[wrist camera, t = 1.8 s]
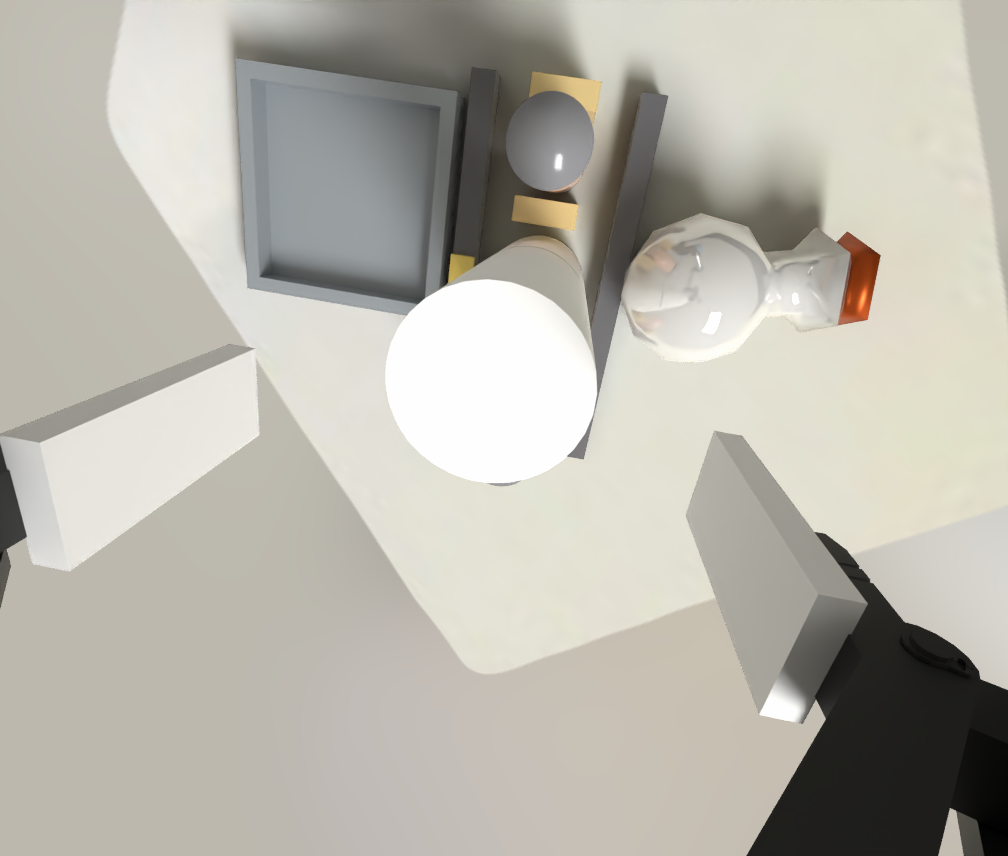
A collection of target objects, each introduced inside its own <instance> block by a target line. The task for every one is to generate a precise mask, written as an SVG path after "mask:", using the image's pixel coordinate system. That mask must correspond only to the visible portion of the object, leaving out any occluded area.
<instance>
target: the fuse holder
mask: <svg viewBox="0 0 1008 856" xmlns="http://www.w3.org/2000/svg"><path fill="white" fill-rule="evenodd" d="M601 83H602V82H601V81H595V80H588V79H581V78H574V77H567V76H560V75H553V74H546V73H540V72H533V71H532V77H531V84H530V92H529V97H531V96H533V95H535V94H537V93H540V92H544V91H559V92H563V93H566V94H568V95H570V96H572V97H574V98H575V99H576V100H577V101H579V102H580V103H581V105H582V106H583V107H584V108H585V110H586V111H587V113H588V115H589V117H590V120H591V122H592V126H593V123H594V119H595V115H596V110H597V105H598V100H599V94H600V89H601ZM499 85H500V76H499V74H498V72H497V71H495V70H489V69H482V68H475V67H472V72H471V82H470V92H469V102H468V112H467V122H466V132H465V142H464V152H463V162H462V172H461V182H460V192H459V202H458V212H457V222H456V232H455V242H454V252H453V253H452V254H451V258H450V268H449V278H448V283H450V282H452V281H453V280H455V279H456V278H458V277H459V276H461V275H463V274H464V273H466V272H467V271H469V270H470V269H472V268H473V267H475V266H477V265H478V261H479V253H480V244H481V236H482V228H483V219H484V211H485V203H486V194H487V186H488V177H489V169H490V161H491V152H492V144H493V136H494V127H495V119H496V111H497V102H498V94H499ZM667 99H668V96H667V95H660V94H653V93H646V92H643V93H642V94H641V96H640V98H639V102H638V106H637V111H636V116H635V120H634V125H633V130H632V134H631V139H630V144H629V148H628V153H627V158H626V162H625V167H624V172H623V176H622V181H621V186H620V190H619V195H618V200H617V205H616V209H615V214H614V219H613V223H612V228H611V233H610V237H609V242H608V247H607V251H606V256H605V261H604V265H603V270H602V275H601V279H600V284H599V289H598V293H597V298H596V303H595V307H594V312H593V317H592V321H591V326H590V330H591V337H592V344H593V352H594V359H595V366H596V377H597V397H596V402H595V408H596V404H597V400H598V395H599V391H600V387H601V383H602V378H603V374H604V370H605V365H606V361H607V357H608V353H609V348H610V344H611V340H612V335H613V331H614V327H615V322H616V318H617V314H618V310H619V305H620V301H621V294H622V288H623V282H624V277H625V271H626V268H627V267H628V266H629V262H630V258H631V254H632V250H633V245H634V241H635V237H636V232H637V228H638V224H639V220H640V215H641V211H642V207H643V202H644V198H645V194H646V189H647V185H648V181H649V177H650V172H651V168H652V164H653V159H654V155H655V151H656V147H657V142H658V138H659V134H660V129H661V125H662V121H663V117H664V112H665V108H666V104H667ZM578 206H579V205H576V204H570V203H563V202H557V201H551V200H544V199H538V198H532V197H525V196H519V195H515V199H514V206H513V213H512V220H511V221H517V222H524V223H530V224H536V225H542V226H548V227H555V228H561V229H567V230H573V231H574V228H575V223H576V217H577V212H578ZM595 408H594V413H595ZM594 413H593V416H592V419H591V421H590V423H589V426H588V428H587V430H586V433H585V434H584V436H583V437H582V439H581V440H580V441H579V443H578V444H577V446H576V447H575V449H574V450H573V451H572V452H571V453H569V454H568V455H567V456H568V457H573V458H579V459H584V455H585V451H586V447H587V443H588V438H589V434H590V430H591V425H592V421H593V417H594Z"/></svg>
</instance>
